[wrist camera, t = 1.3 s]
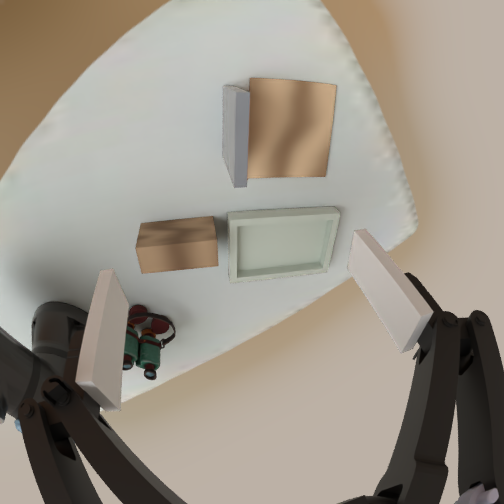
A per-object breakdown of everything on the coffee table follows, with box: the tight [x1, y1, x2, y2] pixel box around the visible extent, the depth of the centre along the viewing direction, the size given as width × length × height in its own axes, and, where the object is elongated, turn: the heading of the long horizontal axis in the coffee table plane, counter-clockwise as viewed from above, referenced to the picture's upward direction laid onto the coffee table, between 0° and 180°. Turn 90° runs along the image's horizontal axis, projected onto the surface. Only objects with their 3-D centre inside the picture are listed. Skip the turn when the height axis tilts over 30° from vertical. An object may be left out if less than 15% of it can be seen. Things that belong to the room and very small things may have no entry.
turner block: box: [136, 216, 218, 274], centre depth 38 cm, size 10×4×6 cm, turn 89°
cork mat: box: [248, 78, 336, 178], centre depth 34 cm, size 11×13×1 cm
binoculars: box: [123, 305, 175, 380], centre depth 44 cm, size 9×11×10 cm
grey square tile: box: [222, 86, 250, 188], centre depth 28 cm, size 1×9×10 cm, turn 178°
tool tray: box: [227, 207, 340, 283], centre depth 43 cm, size 16×11×2 cm
